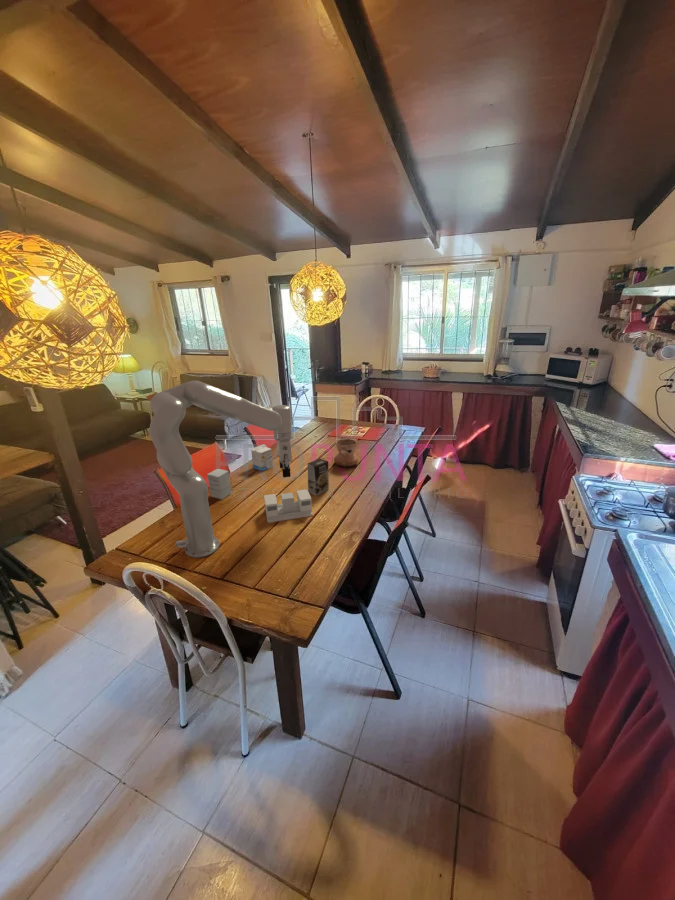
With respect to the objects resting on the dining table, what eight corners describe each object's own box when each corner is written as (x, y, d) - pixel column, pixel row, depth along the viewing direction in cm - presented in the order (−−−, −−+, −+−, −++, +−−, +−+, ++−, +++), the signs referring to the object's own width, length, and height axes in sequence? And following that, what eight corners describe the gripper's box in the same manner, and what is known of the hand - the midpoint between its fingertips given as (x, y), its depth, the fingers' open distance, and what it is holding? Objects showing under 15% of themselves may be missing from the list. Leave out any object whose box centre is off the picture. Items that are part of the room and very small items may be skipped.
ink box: (262, 471, 199) (260, 450, 194) (252, 468, 203) (250, 447, 198) (273, 466, 205) (271, 445, 200) (263, 463, 210) (261, 442, 205)
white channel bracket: (267, 522, 150) (266, 506, 147) (265, 508, 160) (263, 493, 158) (312, 515, 155) (312, 500, 152) (307, 502, 166) (306, 487, 163)
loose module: (294, 511, 156) (294, 497, 153) (283, 513, 154) (282, 499, 152) (293, 505, 160) (292, 492, 157) (281, 507, 159) (280, 494, 156)
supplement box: (221, 490, 178) (217, 468, 173) (232, 493, 175) (229, 470, 170) (210, 496, 172) (206, 473, 167) (221, 500, 169) (218, 476, 164)
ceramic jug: (354, 470, 199) (355, 447, 194) (330, 468, 202) (330, 445, 197) (360, 459, 215) (361, 438, 210) (338, 457, 218) (338, 435, 213)
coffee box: (316, 496, 171) (315, 466, 165) (307, 492, 175) (306, 463, 170) (329, 489, 178) (328, 461, 172) (320, 485, 182) (319, 457, 176)
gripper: (295, 440, 137) (297, 479, 143) (288, 428, 153) (290, 463, 159) (276, 442, 135) (278, 481, 141) (271, 429, 151) (274, 465, 157)
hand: (285, 472), depth 150 cm, fingers open, 9 cm apart
